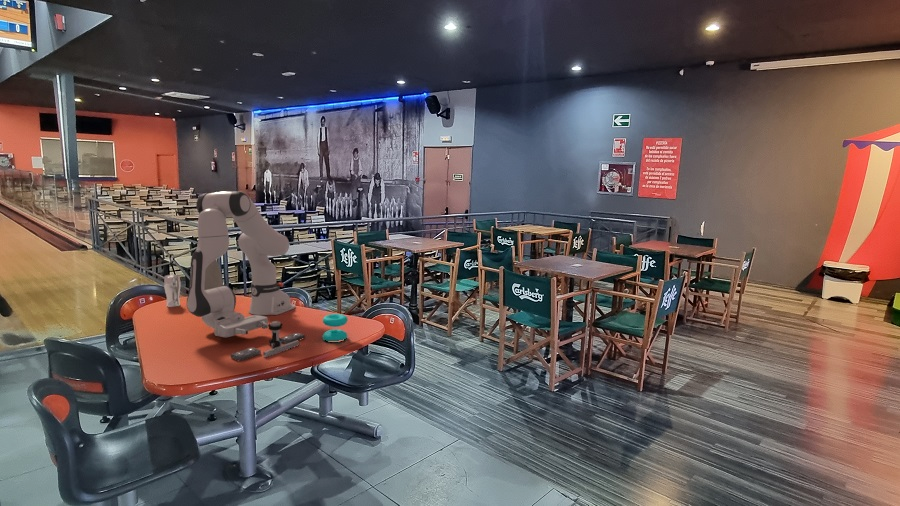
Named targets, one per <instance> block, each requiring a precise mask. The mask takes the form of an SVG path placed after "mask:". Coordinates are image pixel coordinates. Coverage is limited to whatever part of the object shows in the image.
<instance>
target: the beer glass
mask: <svg viewBox="0 0 900 506" xmlns="http://www.w3.org/2000/svg"><path fill="white" fill-rule="evenodd" d="M163 284H164V285H163V287H164V288H163V289H164V292H165V295H166V305H165V306H166V307H167V306H168V307H167V308H176V307H180V306H181V302H180V293H181V277H180V274H167V275H166V274H165V275H164V278H163Z"/></svg>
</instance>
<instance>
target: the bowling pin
mask: <svg viewBox="0 0 900 506" xmlns="http://www.w3.org/2000/svg"><path fill="white" fill-rule="evenodd" d="M222 286H223V274H222V271H221V267H220V265H219V262H218V259H216V260H214V261H213V262H212V263H210V264H209V265H208V267H207V268H206V271H205V285H204V290H208V289H213V288H217V287H222Z"/></svg>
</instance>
